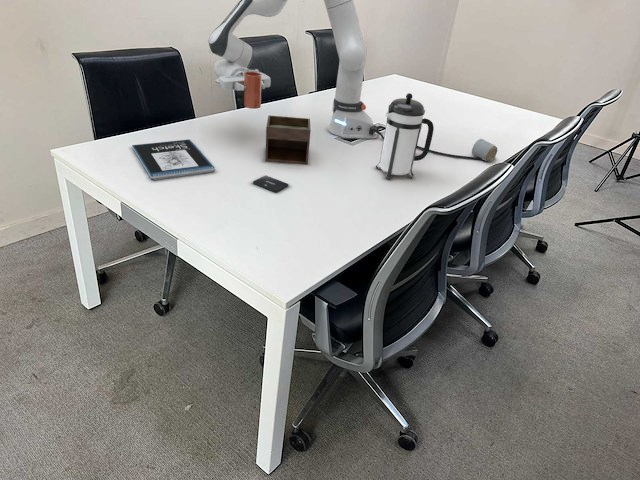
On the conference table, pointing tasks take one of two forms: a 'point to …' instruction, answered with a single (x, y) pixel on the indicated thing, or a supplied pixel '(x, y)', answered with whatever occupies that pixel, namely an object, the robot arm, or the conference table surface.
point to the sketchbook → (172, 159)
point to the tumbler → (252, 90)
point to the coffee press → (403, 136)
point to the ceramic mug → (484, 150)
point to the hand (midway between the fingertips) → (254, 87)
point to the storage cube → (287, 139)
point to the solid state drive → (270, 183)
